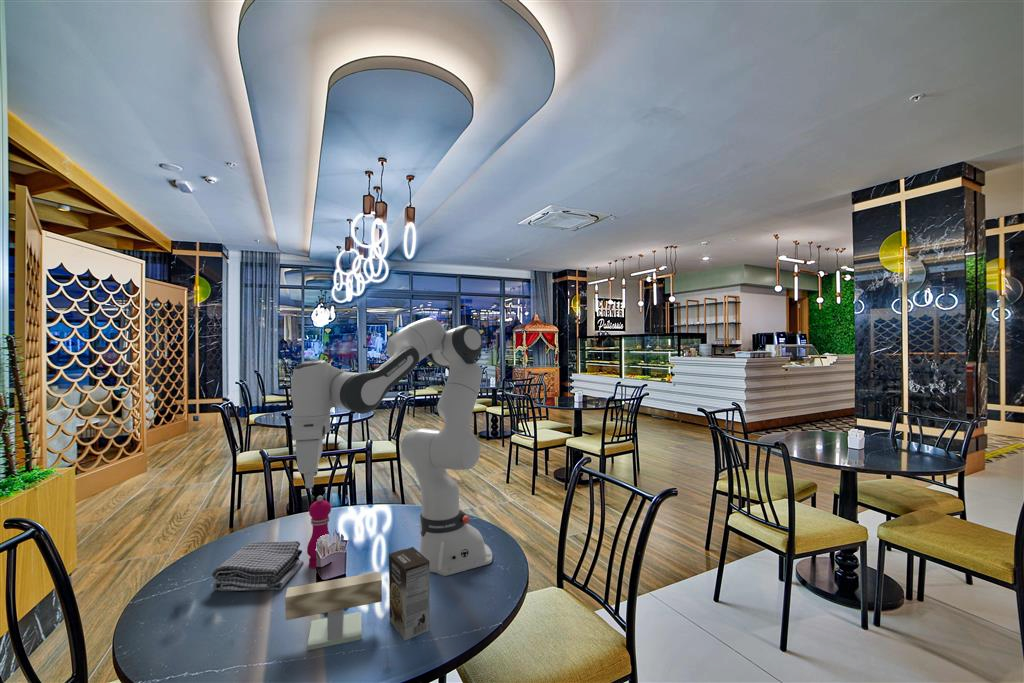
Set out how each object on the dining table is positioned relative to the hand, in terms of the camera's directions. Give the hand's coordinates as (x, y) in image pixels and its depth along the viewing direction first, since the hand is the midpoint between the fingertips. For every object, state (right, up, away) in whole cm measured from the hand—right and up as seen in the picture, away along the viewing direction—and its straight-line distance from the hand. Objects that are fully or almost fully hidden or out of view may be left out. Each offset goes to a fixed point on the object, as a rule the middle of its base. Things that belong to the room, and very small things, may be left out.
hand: (311, 481), depth 113 cm
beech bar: (+10, -25, -10) cm, 29 cm away
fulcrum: (+10, -31, -10) cm, 34 cm away
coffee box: (+26, -31, -8) cm, 42 cm away
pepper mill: (-7, -31, +21) cm, 38 cm away
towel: (-20, -32, +13) cm, 40 cm away
